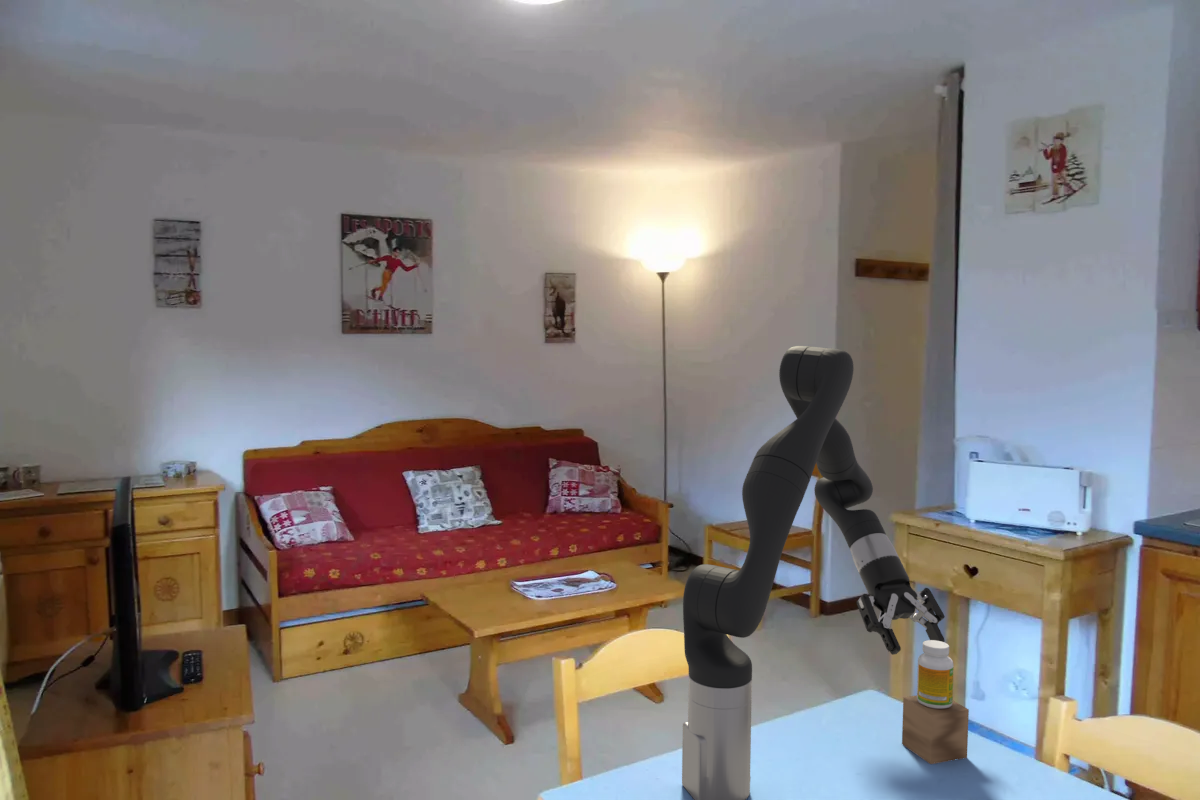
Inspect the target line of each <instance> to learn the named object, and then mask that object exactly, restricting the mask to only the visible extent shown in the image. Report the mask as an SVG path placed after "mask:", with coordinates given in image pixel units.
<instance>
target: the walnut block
mask: <svg viewBox="0 0 1200 800" xmlns="http://www.w3.org/2000/svg"><path fill="white" fill-rule="evenodd" d="M902 698H903V700H902V702H903V703H902V726H901V727H902V731H901V737H902V738H901V745H902V744H903V745H902V746H904V747H905V748H907V749H908V750H910V751H911V752H912V753H914V754H915V755H917V756H918V757H920V758H921V759H922V760H924V761H925V762H926V763H928V764H929V765H934V764H941V763H946V762H952V761H956V760H955V759H958V760H963V758H964V759H967V758H968V743H969V742H968V741H969V715H970V714H969V713H970V710H969V708H967V707H965V706H964V705H961V704H959V703H958V702H956V701H954V700H953V701H952V706H951V707H949V708H945V709H935V708H930V707H927V706H924V705H922V704H921V703H919V702H918V700H917V694H916V695H912V696H910V695H909V696H904V697H902ZM951 760H952V761H951Z"/></svg>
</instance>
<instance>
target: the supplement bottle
mask: <svg viewBox="0 0 1200 800" xmlns="http://www.w3.org/2000/svg"><path fill="white" fill-rule="evenodd" d="M922 652H923V653H921V654H920V655H919V656H918V657H917V673H916V675H917V677H916V678H917V679H916V680H917V681H916V695H917V700H918V702H919V703H921V704H922V705H924V706H927V707H930V708H935V709H945V708H949V707H951V706H952V701H954V700H953V697H954V696H953V694H954V661H953V659H952V658H951V657H950V655H949V654H950V645H949V643H946V642H941V641H936V640H930V639H927V640H924V641H922Z"/></svg>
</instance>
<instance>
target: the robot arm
mask: <svg viewBox="0 0 1200 800" xmlns="http://www.w3.org/2000/svg"><path fill="white" fill-rule="evenodd" d="M778 371H779V372H778V373H779V384H780V387H781V390H782V393H783V396H784V397H785V399H786V401H787V403H788V405H789V406H790V408H791V410H792V412H793V414H794V415H795V418H796V419H795V420H793V421H792V422H791V423H790V424H788V425H787V426H785V427H784V428H783V429H781V430H780V431H779V432H777V433H776V434H775V435H773V436H772V437H770V438H769V439H768V440H767V441H766V442H765V443H764V444H763V445H761V446H760V448H758V450H757V451H756V453H755V456H754V458H753V459H752V462H751V464H750V467H749V468H748V471H747V473H746V475H745V478H744V480H743V484H742V488H741V489H742V491H741V497H742V503H743V510H744V513H745V518H746V521H747V526H748V530H749V545H748V549H747V553H746V555H745V556H746V557H745V559H744V560H743V564H742V566H741V568H740V569H734V568H730V567H723V566H720V565H716V564H715V565H714V564H707V563H705V564H700V565H697V566H696V567H695V568H694V569H692V571H691V572H690V573H689V575H688V577H687V579H686V582H685V585H684V590H683V599H682V600H683V601H682V618H683V619H682V620H683V640H684V641H683V642H684V643H683V645H684V647H683V648H684V649H683V650H684V656H685V660H686V662H687V665H688V692H687V693H688V695H687V699H688V701H687V702H688V703H687V704H688V705H687V707H688V708H687V721H684V722H683V723H682V741H681V742H682V743H681V744H682V746H681V747H682V753H681V758H682V759H681V762H682V763H681V785H682V786H683V787H684V789H685V790H686V791H687V792H688V793H689V795H690V796H691V797H692V799H693V800H747V799H748V798H749V796H750V793H751V778H752V777H751V760H752V759H751V758H752V757H751V752H752V751H751V749H752V748H751V747H752V746H751V744H752V702H753V701H752V699H753V694H752V693H753V691H752V689H753V663H752V660H751V658H750V656H749V655H748V654H747V653H746V652H745V651H744V650H742V649H741V648H739V647H738V645H736V644H735V643H734V642H733V641H732V640H731V639H730V638H729V636H732V637H736V638H741V639H743V638H748V637H750V636H751V635H752V634H753V633H755V631H756V630H757V629H758V628H759V626H760V624H761V621H762V619H763V617H764V614H765V611H766V608H767V606H768V603H769V598H770V596H771V592H772V588H773V585H774V581H775V579H776V574H777V571H778V568H779V564H780V560H781V557H782V554H783V551H784V548H785V545H786V542H787V540H788V536H789V533H790V531H791V528H792V527H793V523H794V520H795V518H796V516H797V513H798V511H799V508H800V507H801V504H802V502H803V500H804V498H805V494H806V493H807V489H808V487H809V484H810V481H811V478H812V476H813V472H814V470H815V466H817V469H818V472H819V474H820V475H821V476H822V477H821V478H819V479H818V480H817V481H816V482H815V485H814V497H815V498H816V501H817V502H818V503H819V505H820V506H821V508H822V509H823V510H824V511H825V512H826V514H828V516H830V518H831V520H833V521H834V523H835V524H836V525H837V527H838V528H839V530H840V531H841V533H842V536H843V537H844V539H845V541H846V544H847V546H848V548H849V550H850V553H851V556H852V557H851V558H852V561H853V563H854V565H855V567H856V569H857V571H858V573H859V576H860V578H861V581H862V583H863V585H864V587H865V589H866V592H867V593H862V595H861V596H860V597H859V599H858V600H856V605H857V608H858V611H859V613H860V616H861V618H862V622H863V624H864V627H865V629H866V631H867V632H869V633H873V632H874V633H877V634H878V635H879V636H880V638H881V639H882V642H883V644H884V645H885V648H886V650H887V651H888V652H890V654H891V655H897V654H899V652H900V651H901V650H902V648H901V645H900V643H899V641H898V639H897V637H896V635H895V634H896V633H895V631H894V630H893V628H890V627H891V623H892V621H896V620H898V619H904V620H907V619H910V620H911V621H913V622H915V623H919V625H921V626H922V627H923V628H925V633H926V634H927V636H928V640H936V641H941V642H944V643H946V642H945V637H944V635H943V634H942V631H941V628H940V627H939V623H941V621H942V620H943V619H945V615H944V611H943V610H942V608H941V607H940V605H939V603H938V602H937V599H936V598H935V596H934V595H933V592H932V591H931V589H930V588H928V587H924V588H923V589H922V590H920V591H919V590H918V591H915V590H914V589H913V588H912V585H911V582H910V577H909V575H908V573H907V571H906V569H905V566H904V565H903V563H902V560H901V558H900V557H899V554H898V553H897V550H896V548H895V546H894V545H893V543H892V542H891V540H890V538H889V537H888V535H887V533H886V532H885V529H884V528H883V525H882V524H881V521H880V519H879V516H878V515H877V514H876V513H875V511H873V510H871V509H866V508H865V509H853V510H852V509H849V508H852V507H854V506H857V505H860V504H863V503H865V502H867V501H868V500H869V499H871V497H872V495H873V491H874V488H873V487H874V486H873V483H872V481H871V479H870V477H869V476H868V474H867V472H866V471H865V470H864V469H863V468H862V467H861V466H860V464H859V462H858V460H857V458H856V455H855V450H854V446H853V443H852V439H851V437H850V435H849V433H848V431H847V429H846V427H844V426H843V425H842V423H841V422H840V421H839V420H838V419H837V416H838V414H839V412H840V410H841V408H842V407H843V403H844V402H845V400H846V398H847V395H848V393H849V390H850V387H851V386H852V385H851V384H852V380H853V377H854V376H853V375H854V361H853V358H852V356H851V354H850V353H848V352H847V351H846V350H842V349H838V348H832V347H831V348H830V347H819V346H809V345H795V346H792V347H789V348H788V349H787V350H786V351H785V353H784V354H783V356H782V359H781V361H780V365H779V370H778ZM874 607H875V608H876V609H878V611H880V612H879V616H878V617H877V614H876V611H875V609H874ZM916 610H917V611H918V612H915V611H916ZM728 635H729V636H728Z"/></svg>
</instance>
